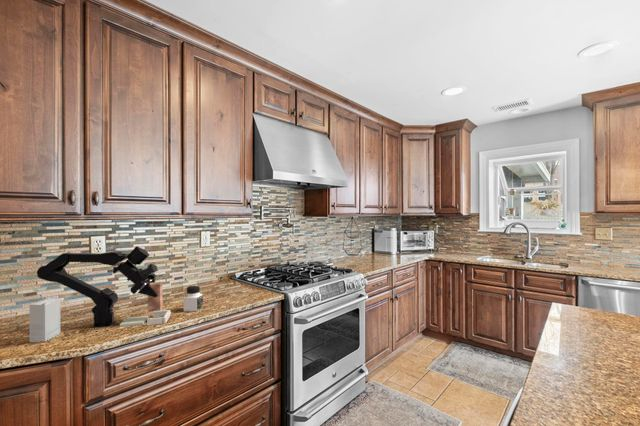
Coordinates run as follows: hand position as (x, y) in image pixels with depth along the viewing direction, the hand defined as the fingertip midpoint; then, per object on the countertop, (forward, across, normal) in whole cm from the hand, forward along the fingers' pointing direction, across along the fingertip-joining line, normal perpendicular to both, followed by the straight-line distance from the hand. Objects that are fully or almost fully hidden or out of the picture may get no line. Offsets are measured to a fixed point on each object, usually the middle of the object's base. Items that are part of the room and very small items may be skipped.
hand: (158, 294), depth 142 cm
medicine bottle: (+18, +13, -1) cm, 22 cm away
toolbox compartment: (+8, 0, +8) cm, 11 cm away
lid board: (+1, 0, +15) cm, 15 cm away
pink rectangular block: (+4, 0, +6) cm, 7 cm away
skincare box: (-18, -12, +35) cm, 41 cm away
